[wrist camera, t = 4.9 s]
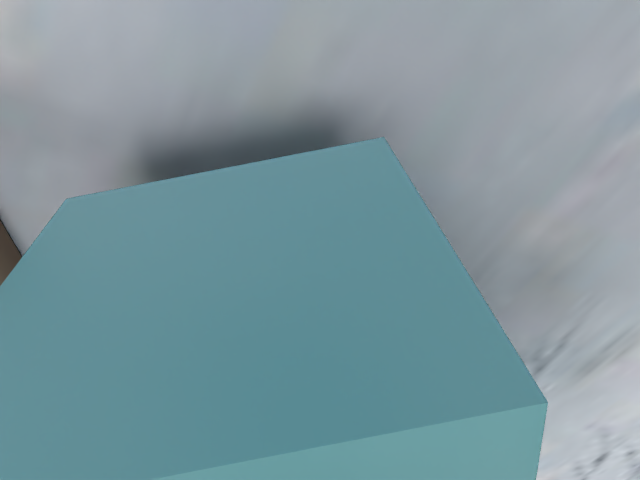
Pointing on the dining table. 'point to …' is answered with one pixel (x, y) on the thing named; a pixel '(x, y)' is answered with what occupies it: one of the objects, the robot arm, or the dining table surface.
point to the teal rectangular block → (259, 335)
